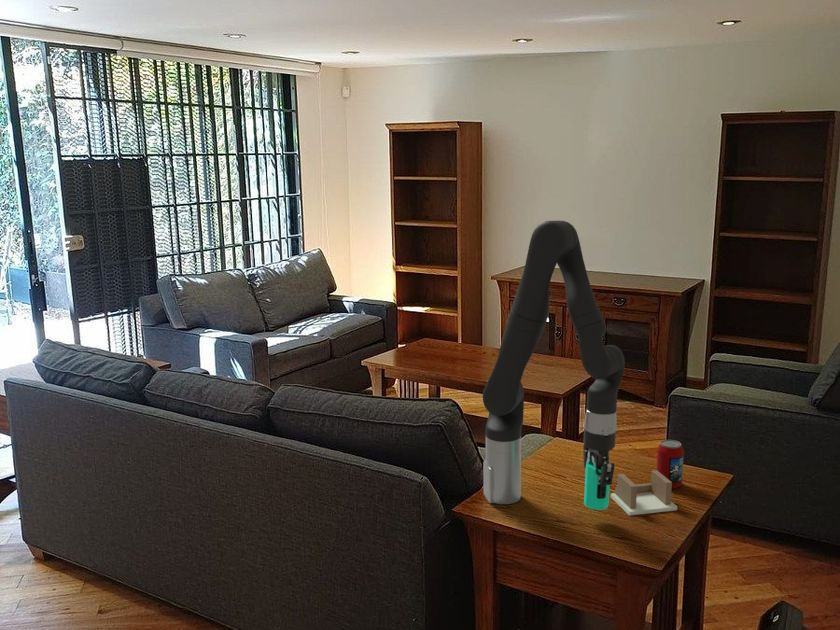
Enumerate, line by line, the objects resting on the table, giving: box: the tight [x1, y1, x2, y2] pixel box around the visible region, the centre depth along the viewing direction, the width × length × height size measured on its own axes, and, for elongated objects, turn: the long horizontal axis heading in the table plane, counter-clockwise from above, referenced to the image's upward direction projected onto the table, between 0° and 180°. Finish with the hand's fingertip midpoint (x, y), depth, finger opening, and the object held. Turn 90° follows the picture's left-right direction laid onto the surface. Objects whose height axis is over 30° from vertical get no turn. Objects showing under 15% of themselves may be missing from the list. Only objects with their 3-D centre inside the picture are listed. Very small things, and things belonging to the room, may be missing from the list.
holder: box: [610, 469, 678, 516], centre depth 205 cm, size 13×11×7 cm
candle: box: [583, 462, 611, 511], centre depth 195 cm, size 6×6×12 cm
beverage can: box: [656, 439, 685, 490], centre depth 216 cm, size 7×7×12 cm
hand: (596, 492), depth 196 cm, fingers closed on candle, 5 cm apart
